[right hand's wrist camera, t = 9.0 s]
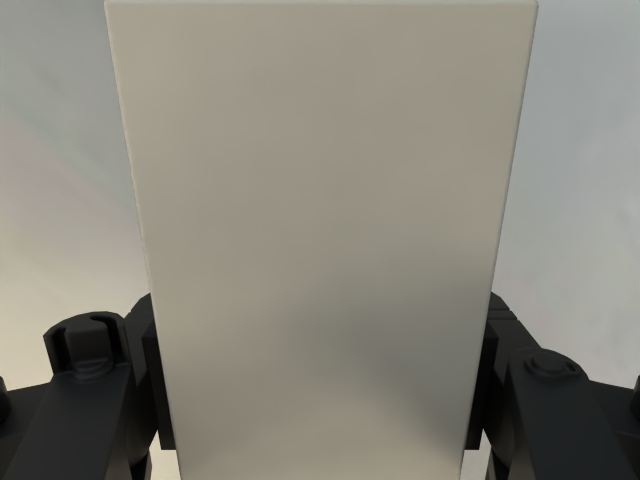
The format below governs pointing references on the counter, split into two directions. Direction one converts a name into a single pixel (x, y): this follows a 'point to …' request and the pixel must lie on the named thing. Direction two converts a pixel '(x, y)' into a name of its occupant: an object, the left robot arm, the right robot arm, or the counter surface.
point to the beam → (320, 222)
